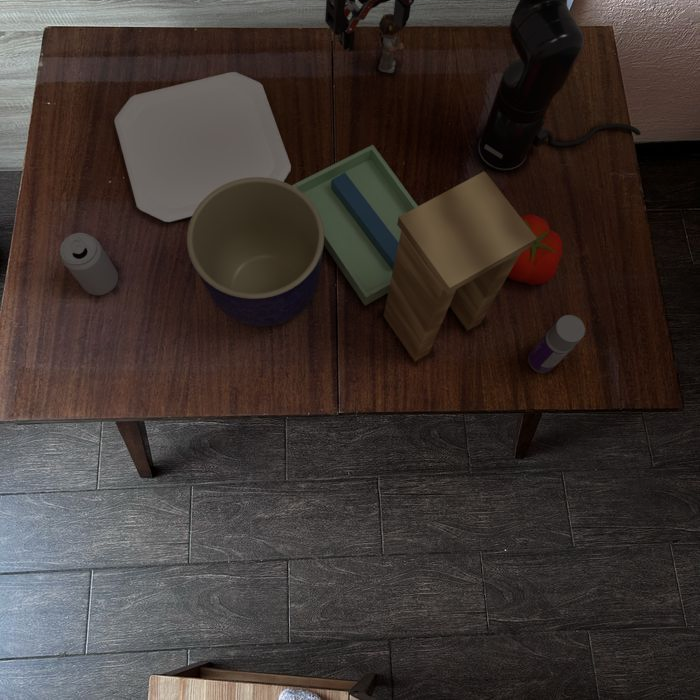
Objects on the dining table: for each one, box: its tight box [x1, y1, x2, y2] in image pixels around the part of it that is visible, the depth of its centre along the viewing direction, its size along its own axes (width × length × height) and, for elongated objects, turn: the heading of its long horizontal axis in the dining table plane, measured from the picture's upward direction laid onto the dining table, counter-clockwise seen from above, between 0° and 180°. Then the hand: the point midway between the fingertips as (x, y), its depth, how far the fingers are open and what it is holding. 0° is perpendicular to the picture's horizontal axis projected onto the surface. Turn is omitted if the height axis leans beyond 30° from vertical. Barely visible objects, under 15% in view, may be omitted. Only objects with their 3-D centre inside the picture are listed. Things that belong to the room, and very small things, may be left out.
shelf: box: [383, 170, 537, 362], centre depth 106 cm, size 14×12×32 cm
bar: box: [331, 173, 399, 270], centre depth 125 cm, size 3×20×3 cm, turn 34°
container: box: [527, 314, 586, 374], centre depth 112 cm, size 5×5×15 cm
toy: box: [376, 2, 405, 74], centre depth 132 cm, size 6×6×15 cm
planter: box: [186, 177, 325, 328], centre depth 113 cm, size 21×21×19 cm
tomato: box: [507, 213, 563, 286], centre depth 122 cm, size 13×12×8 cm
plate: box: [114, 71, 292, 224], centre depth 130 cm, size 29×29×2 cm
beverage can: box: [59, 232, 119, 296], centre depth 116 cm, size 6×6×12 cm
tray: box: [292, 144, 419, 306], centre depth 125 cm, size 18×26×4 cm
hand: (373, 35), depth 96 cm, fingers open, 8 cm apart
